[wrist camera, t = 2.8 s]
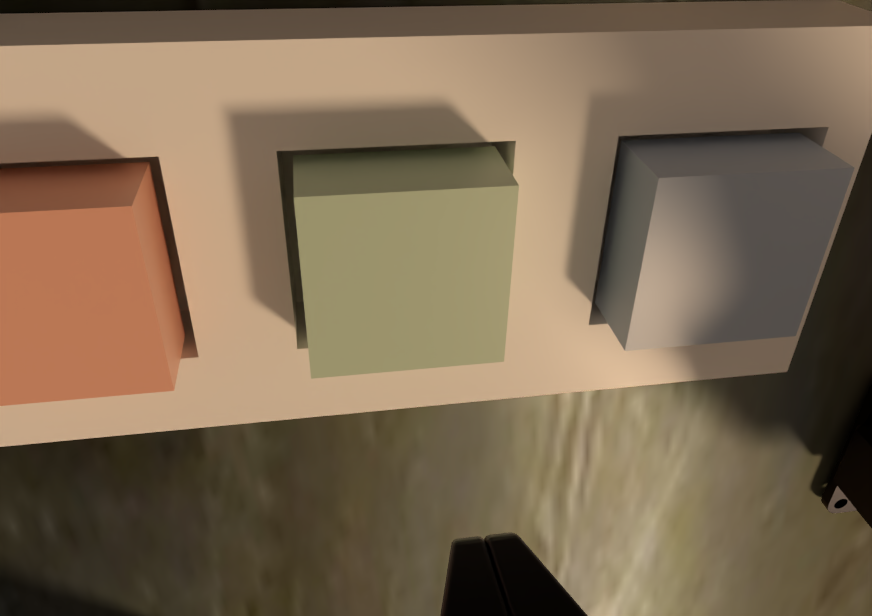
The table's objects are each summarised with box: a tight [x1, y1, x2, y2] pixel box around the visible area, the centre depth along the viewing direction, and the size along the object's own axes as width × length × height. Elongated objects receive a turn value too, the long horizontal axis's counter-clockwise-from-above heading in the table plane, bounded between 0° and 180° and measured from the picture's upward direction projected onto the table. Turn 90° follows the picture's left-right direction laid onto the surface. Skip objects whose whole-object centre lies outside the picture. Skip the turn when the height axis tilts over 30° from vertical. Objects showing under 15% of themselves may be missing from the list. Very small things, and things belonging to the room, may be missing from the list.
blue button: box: [595, 133, 854, 351], centre depth 17 cm, size 4×4×2 cm
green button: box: [293, 146, 519, 379], centre depth 16 cm, size 4×4×2 cm
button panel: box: [0, 0, 872, 447], centre depth 17 cm, size 21×9×2 cm, turn 89°
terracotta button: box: [0, 162, 185, 406], centre depth 15 cm, size 4×4×2 cm
